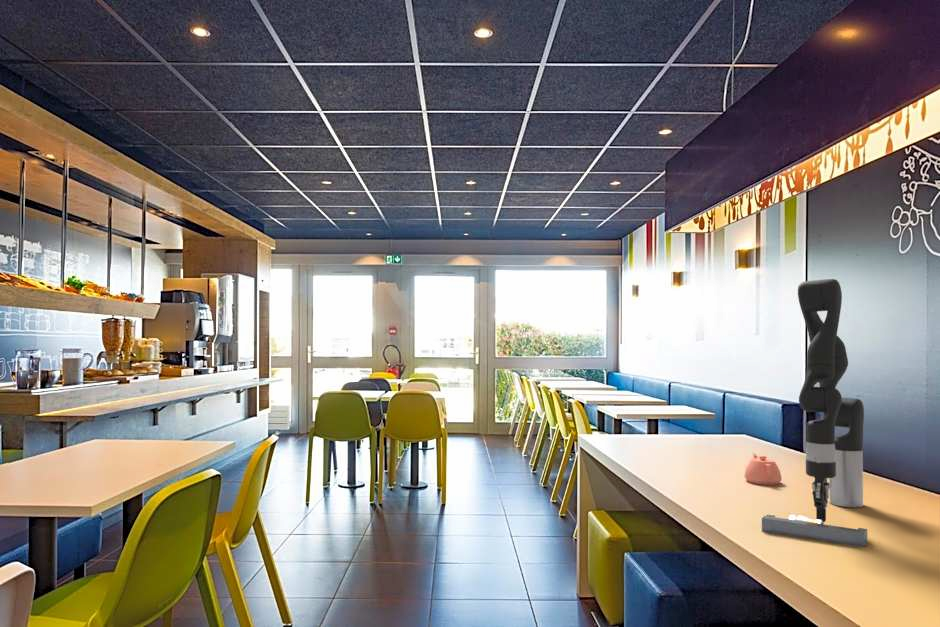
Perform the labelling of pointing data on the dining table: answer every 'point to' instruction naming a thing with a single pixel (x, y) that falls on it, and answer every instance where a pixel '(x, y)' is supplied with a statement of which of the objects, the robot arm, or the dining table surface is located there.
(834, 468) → the robot arm
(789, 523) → the stop bracket
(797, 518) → the pipe fitting
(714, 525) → the dining table surface
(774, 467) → the pink rounded piece
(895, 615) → the dining table surface
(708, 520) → the dining table surface
